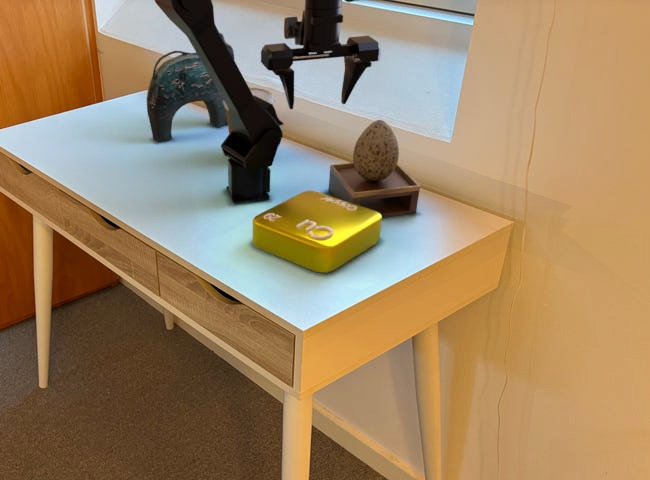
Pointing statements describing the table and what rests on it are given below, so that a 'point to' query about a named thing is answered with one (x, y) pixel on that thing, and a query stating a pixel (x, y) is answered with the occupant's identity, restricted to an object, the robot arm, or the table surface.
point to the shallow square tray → (375, 190)
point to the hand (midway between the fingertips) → (317, 106)
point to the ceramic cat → (182, 92)
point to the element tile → (316, 230)
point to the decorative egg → (376, 152)
